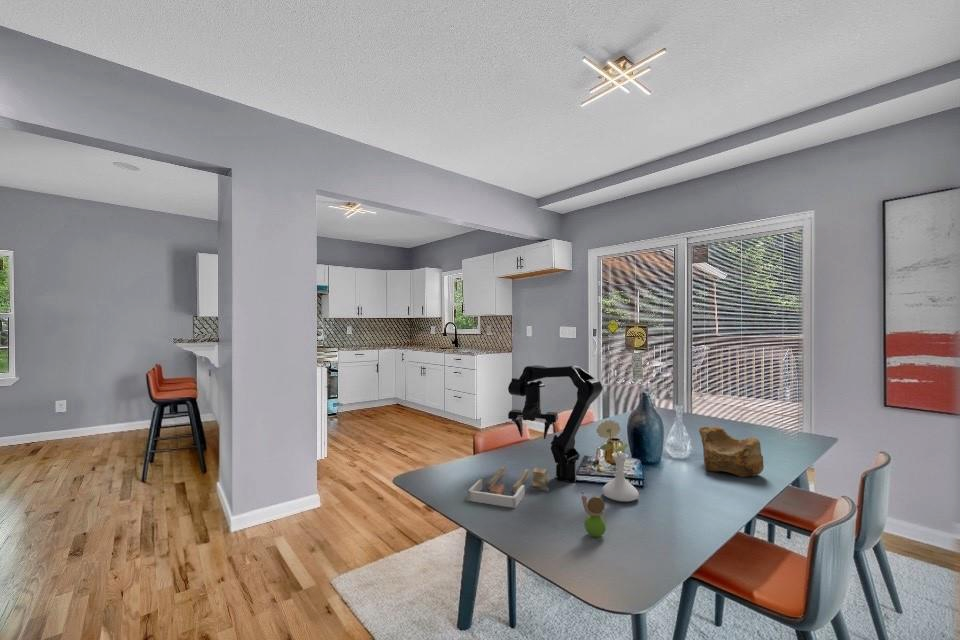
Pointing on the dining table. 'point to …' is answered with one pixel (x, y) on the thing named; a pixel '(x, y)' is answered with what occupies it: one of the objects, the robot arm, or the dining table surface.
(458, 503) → the dining table surface
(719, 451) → the rough brown rock
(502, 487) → the brown cube
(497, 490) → the chip
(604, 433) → the flower in vase
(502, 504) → the tray
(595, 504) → the snail figurine
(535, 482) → the scraper
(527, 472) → the channel
